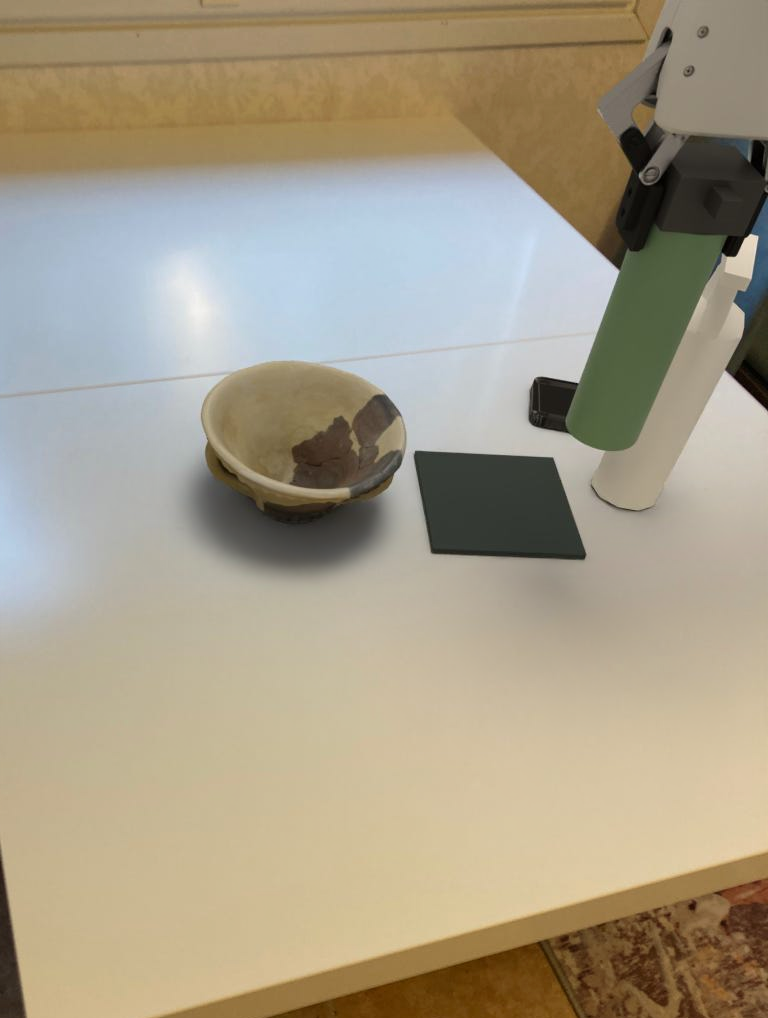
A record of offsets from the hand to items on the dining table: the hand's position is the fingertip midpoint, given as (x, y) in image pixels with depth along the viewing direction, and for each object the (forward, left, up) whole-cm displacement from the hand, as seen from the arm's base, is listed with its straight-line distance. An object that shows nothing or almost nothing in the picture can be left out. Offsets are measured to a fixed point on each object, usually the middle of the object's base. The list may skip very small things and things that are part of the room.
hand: (676, 241), depth 59 cm
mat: (+2, -10, -30) cm, 32 cm away
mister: (0, 0, -14) cm, 14 cm away
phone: (-12, -25, -30) cm, 41 cm away
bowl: (+21, -9, -31) cm, 38 cm away
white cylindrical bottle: (-12, -14, -31) cm, 36 cm away
